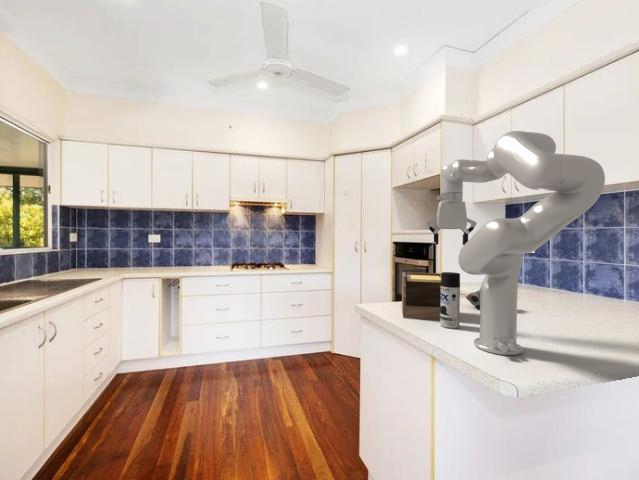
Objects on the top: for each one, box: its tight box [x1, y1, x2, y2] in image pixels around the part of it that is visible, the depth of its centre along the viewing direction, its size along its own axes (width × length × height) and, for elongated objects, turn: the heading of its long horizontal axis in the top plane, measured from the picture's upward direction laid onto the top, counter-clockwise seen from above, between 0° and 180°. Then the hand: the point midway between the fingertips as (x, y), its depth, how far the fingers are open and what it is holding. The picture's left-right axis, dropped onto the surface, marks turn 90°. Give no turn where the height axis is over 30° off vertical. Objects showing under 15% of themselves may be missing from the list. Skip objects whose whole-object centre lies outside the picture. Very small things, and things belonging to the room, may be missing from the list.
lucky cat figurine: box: [465, 288, 481, 309], centre depth 141 cm, size 15×12×14 cm
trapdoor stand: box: [401, 271, 442, 321], centre depth 129 cm, size 17×17×17 cm
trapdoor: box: [406, 274, 441, 282], centre depth 129 cm, size 14×14×1 cm
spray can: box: [439, 271, 461, 330], centre depth 112 cm, size 7×7×20 cm
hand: (450, 244), depth 112 cm, fingers open, 9 cm apart
